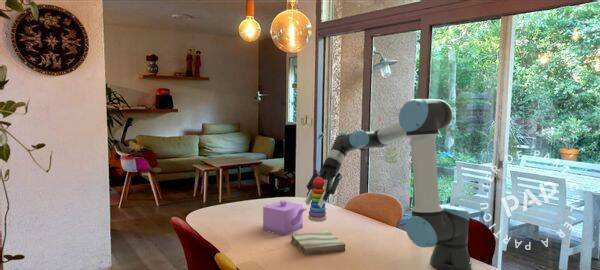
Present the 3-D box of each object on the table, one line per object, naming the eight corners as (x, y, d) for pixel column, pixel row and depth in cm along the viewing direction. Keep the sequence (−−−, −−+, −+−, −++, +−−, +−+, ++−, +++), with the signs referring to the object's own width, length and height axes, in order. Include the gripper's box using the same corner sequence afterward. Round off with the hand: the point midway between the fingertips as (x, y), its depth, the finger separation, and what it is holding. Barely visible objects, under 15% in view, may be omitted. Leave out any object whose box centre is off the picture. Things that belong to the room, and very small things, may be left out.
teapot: (297, 238, 195) (297, 208, 194) (255, 228, 209) (255, 200, 208) (315, 230, 208) (315, 202, 207) (274, 221, 222) (274, 195, 220)
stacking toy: (325, 223, 181) (326, 179, 179) (306, 221, 182) (307, 178, 181) (327, 217, 189) (328, 176, 187) (309, 216, 190) (310, 175, 188)
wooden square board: (345, 250, 181) (345, 243, 180) (305, 255, 175) (305, 248, 174) (328, 237, 198) (328, 231, 197) (291, 241, 192) (291, 234, 191)
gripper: (354, 169, 191) (335, 213, 179) (318, 165, 202) (298, 206, 190) (349, 159, 186) (329, 203, 174) (312, 155, 197) (291, 196, 185)
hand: (313, 204), depth 182 cm, fingers closed on stacking toy, 6 cm apart
